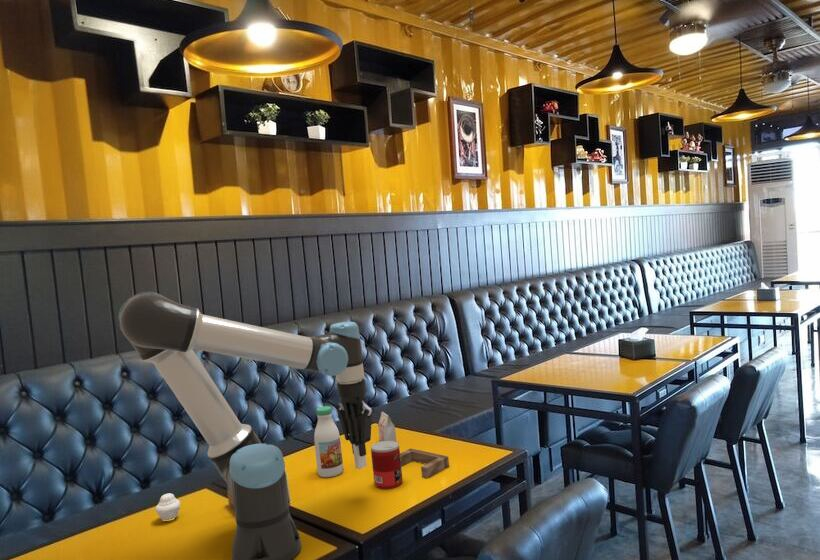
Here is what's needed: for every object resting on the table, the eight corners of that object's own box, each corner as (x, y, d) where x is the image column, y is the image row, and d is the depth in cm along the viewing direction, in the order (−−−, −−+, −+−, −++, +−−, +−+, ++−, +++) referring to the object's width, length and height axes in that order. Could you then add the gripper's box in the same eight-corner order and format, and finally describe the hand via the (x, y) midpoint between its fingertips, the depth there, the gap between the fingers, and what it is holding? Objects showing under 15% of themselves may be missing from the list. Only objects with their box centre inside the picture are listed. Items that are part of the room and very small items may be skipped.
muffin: (177, 511, 160) (173, 486, 160) (185, 518, 156) (182, 492, 155) (153, 520, 156) (150, 494, 156) (162, 527, 152) (158, 500, 151)
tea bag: (389, 438, 204) (387, 410, 203) (396, 444, 198) (393, 415, 197) (379, 441, 203) (376, 412, 202) (386, 446, 196) (383, 417, 196)
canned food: (402, 488, 161) (398, 448, 161) (373, 490, 162) (369, 451, 161) (403, 477, 169) (399, 439, 168) (375, 479, 169) (371, 442, 169)
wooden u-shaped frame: (427, 478, 166) (426, 468, 166) (389, 468, 176) (388, 459, 176) (449, 466, 173) (448, 456, 173) (411, 457, 184) (410, 448, 183)
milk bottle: (313, 477, 175) (306, 411, 174) (325, 467, 182) (318, 404, 181) (336, 478, 173) (329, 411, 171) (347, 468, 180) (341, 404, 179)
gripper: (377, 378, 154) (388, 466, 156) (344, 375, 163) (355, 458, 165) (357, 386, 149) (367, 476, 150) (324, 382, 158) (334, 467, 159)
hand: (361, 466), depth 158 cm, fingers closed
